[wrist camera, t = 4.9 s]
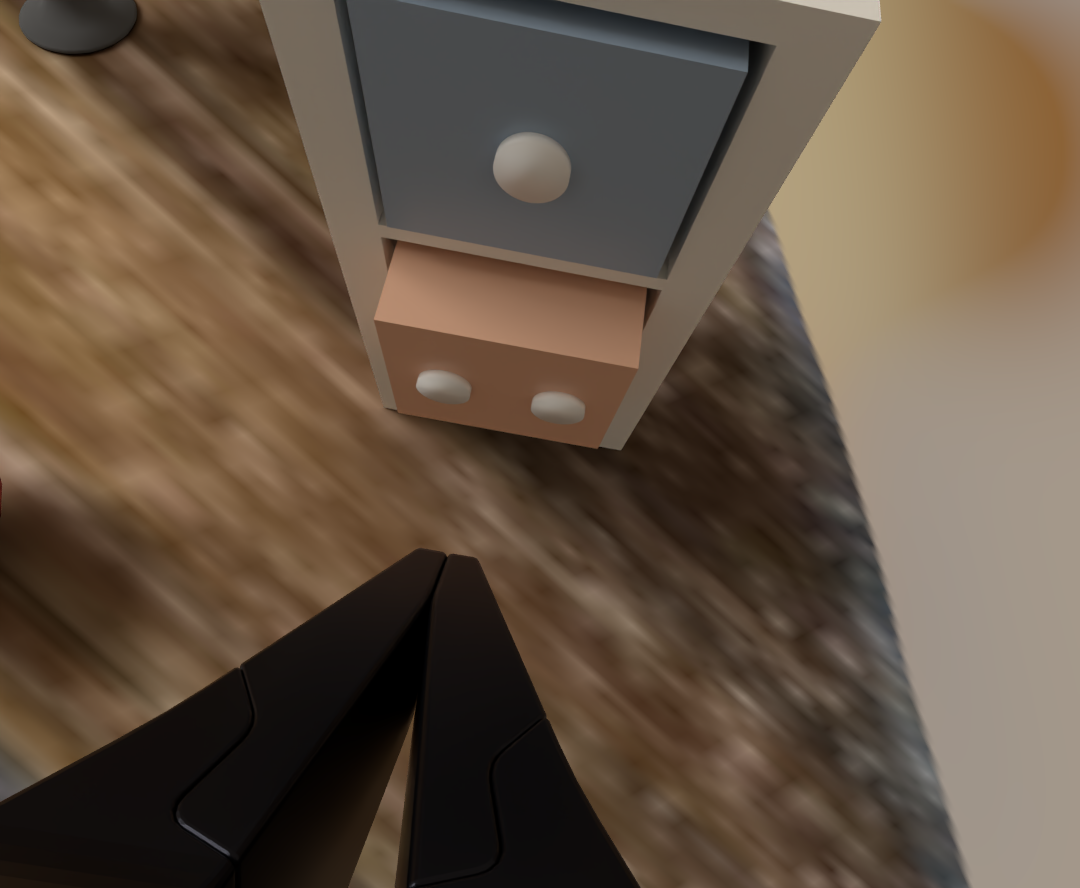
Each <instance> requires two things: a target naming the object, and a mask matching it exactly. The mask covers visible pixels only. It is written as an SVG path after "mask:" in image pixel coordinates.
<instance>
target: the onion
mask: <svg viewBox="0 0 1080 888" xmlns="http://www.w3.org/2000/svg"><path fill="white" fill-rule="evenodd" d="M1 498H2V483H1V479H0V517H1Z"/></svg>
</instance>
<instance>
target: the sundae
mask: <svg viewBox="0 0 1080 888" xmlns="http://www.w3.org/2000/svg"><path fill="white" fill-rule="evenodd" d="M136 18H137V8H136V4H135V2H134V0H27V1H26V2H25V3H24V5H23V6H22V8H21V11H20V15H19V25H20V28H21V30H22V32H23V33H24V35H25V36H26V37H27V39H29V40H30V41H31V42H33V43H34V44H36V45H38V46H40V47H42V48H44V49H46V50H50V51H54V52H58V53H65V54H82V53H91V52H95V51H98V50H102V49H104V48H107V47H110V46H112V45H114V44H115V43H117V42H118V41H120V40H121V39H123V38H124V37H125V36H126V35H127V34H128V33H129V32H130V30H131V29H132V27H133V25H134V23H135V21H136Z"/></svg>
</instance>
